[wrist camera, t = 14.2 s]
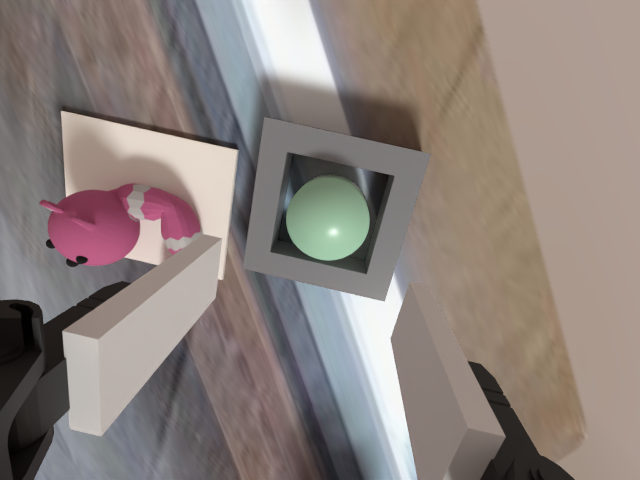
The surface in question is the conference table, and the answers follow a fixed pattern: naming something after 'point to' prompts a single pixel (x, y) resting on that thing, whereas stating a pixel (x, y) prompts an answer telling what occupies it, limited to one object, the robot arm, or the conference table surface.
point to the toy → (116, 223)
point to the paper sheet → (152, 175)
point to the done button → (328, 217)
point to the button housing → (343, 149)
